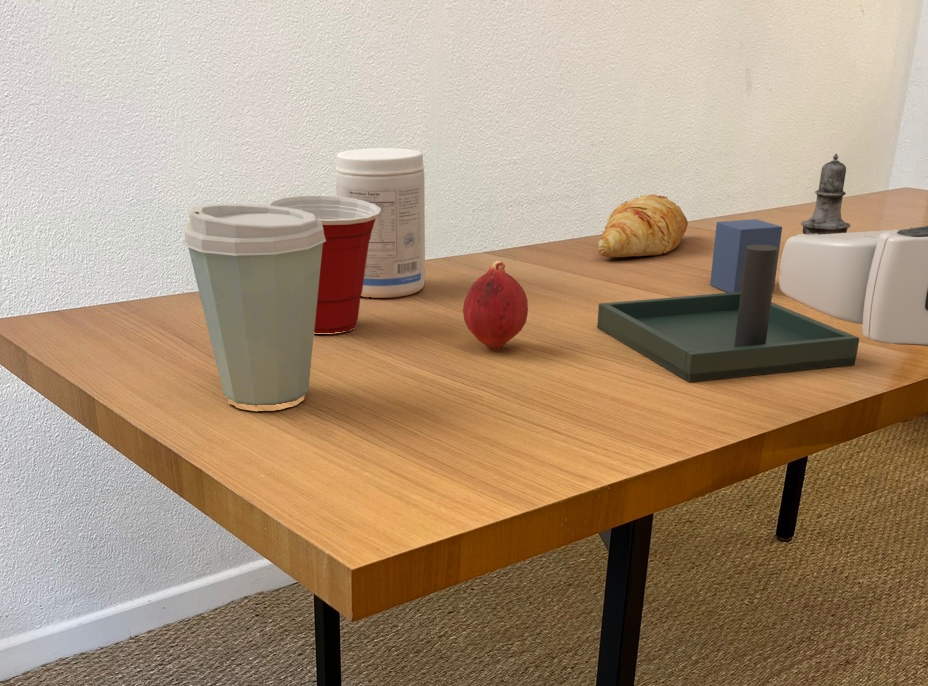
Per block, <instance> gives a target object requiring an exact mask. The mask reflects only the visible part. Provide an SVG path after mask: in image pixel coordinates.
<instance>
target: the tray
mask: <svg viewBox="0 0 928 686" xmlns="http://www.w3.org/2000/svg"><path fill="white" fill-rule="evenodd" d="M777 256H778V247H775V246H771V245H749V246H747V247H746V252H745V260H744V269H743V277H742V285H741V292H731V293H728V292H720V293H707V294H695V295H686V296H685V295H684V296H674V297H661V298H648V299H636V300H627V301H625V300H624V301H614V302H602V303H601V302H600V303H598V311H597V324H596V327H597V329H599V330H601V331H602V332H603V333H606V334H607V335H609V336H611V337H612V338H614V339H616V340H617V341H619V342H621V343H622V344H623V345H626V346H627V347H629V348H631V349H632V350H634V351H636V352H637V353H639V354H640V355H642V356H644V357H646V358H647V359H649V360H651V361H652V362H653V363H656V364H657V365H659V366H660V367H662V368H664V369H666V370H667V371H669V372H671V373H672V374H674V375H676V376H677V377H679V378H681V379H682V380H684V379H685V380H684V381H686V382H687V383H694V382H695V383H696V382H703V381H713V380H722V379H733V378H742V377H752V376H760V375H761V376H762V375H768V374H769V375H771V374H779V373H787V372H788V373H789V372H799V371H807V370H818V369H826V368H827V367H828V368H836V367H845V366H846V367H847V366H854V365H856V361H857V355H858V350H859V343H860V337H859V336H856V335H853V334H851V333H848V332H847V331H844V330H841V329H838V328H836V327H834V326H831V325H829V324H826V323H824V322H821V321H819V320H816V319H814V318H812V317H809V316H806V315H804V314H803V313H802V314H801V313H799V312H797V311H794V310H792V309H790V308H787V307H785V306H782V305H780V304H777V303H775V302H772V300H773V293H774V291H773V286H774V287H775V285H774V278H775V271H776V272H777V270H776V263H777ZM778 257H779V256H778ZM777 264H778V263H777ZM775 279H776V278H775Z"/></svg>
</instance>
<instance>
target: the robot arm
mask: <svg viewBox="0 0 928 686" xmlns="http://www.w3.org/2000/svg"><path fill="white" fill-rule="evenodd" d="M779 264H780V265H779V273H778V274H779V275H778V286H779V289H780V291H781V292H782V294H783V295H784V296H786V297H787V298H789V299H791V300H793V301H795V302H796V303H797V302H798V303H799V304H801V305H804V306H805V307H807V308H810V309H812V310H814V311H816V312H819V313H821V314H823V315H826V316H828V317H831V318H833V319H836V320H839V321H842V322H847V323H852V324H858V325H861V335H862V336H863V337H864V338H866V339H869V340H871V341H873V342H876V343H880V344H894V345H903V346H921V347H922V346H923V347H928V225H923V226H911V227H909V228H902V229H901V228H900V229H887V230H885V229H883V230H868V231H854V232H853V231H852V232H847V233H836V234H820V235H819V234H817V233H816V234H803V233H798V234H796V235H793V236H790V237H788V239H786V242H785V244H784V245H783V249H782V254H781V258H780V263H779Z"/></svg>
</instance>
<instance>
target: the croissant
mask: <svg viewBox="0 0 928 686" xmlns="http://www.w3.org/2000/svg"><path fill="white" fill-rule="evenodd" d="M688 224H689V223H688V219H687V217H686V215H685V213H684V212H683V210H682V208H681V207H680V206H679V205H677V204H676V202H674V201H672V200H670V199H669V198H668V196H664V195H658V194H647V195H645V194H644V195H640V197H634V198H633V199H630V200H627V201H624V202H622V203H621V204H620V205H618V206H617V207H615V208H614V210H613V211H612V212H611V214H610V215H609V216H608V218H607V223H606V224H605V227H604V231H602V233H601V238H600V239H599V240H598V241H597V244H598V248H597V249H598V253H599V254H600V255H601V256H602V257H607V258H628V257H629V258H631V257H646V256H648V257H649V256H661V255H662V254H663V255H664V254H667V253H669V252H671V251H673V250H674V249H676V248H677V247H679V245H680V244H681V241H682V239H683V237H684V235H685V233H686V232H687V229H688Z"/></svg>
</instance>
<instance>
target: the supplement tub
mask: <svg viewBox="0 0 928 686" xmlns="http://www.w3.org/2000/svg"><path fill="white" fill-rule="evenodd" d="M424 169H425V165H424V154H423V152H422V151H420V150H417V149H411V148H400V147H373V148H356V149H348V150H343V151H340V152H338V153H337V154H336V166H335V182H336V184H335V185H336V197H345V198H351V199H358V200H362V201H366V202H369V203H372V204H375V205H376V206H378V207H379V208H380V209H381V211H380V214H379V216H378V218H376V220H375V222H374V226H373V229H372V232H371V238H370V241H369V246H368V253H367V260H366V268H365V275H364V282H363V289H362V293H361V296H362V297H361V298H369V297H371V299H392V298H401V297H406V296H410V295H413V294H416V293H418V292H420V291H421V290H422V289H423V288H424V286H425V283H426V229H425V228H426V223H425V221H426V220H425V219H426V218H425V217H426V214H425V211H426V210H425V207H426V206H425V205H426V203H425V199H426V198H425V196H426V195H425V170H424Z"/></svg>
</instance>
